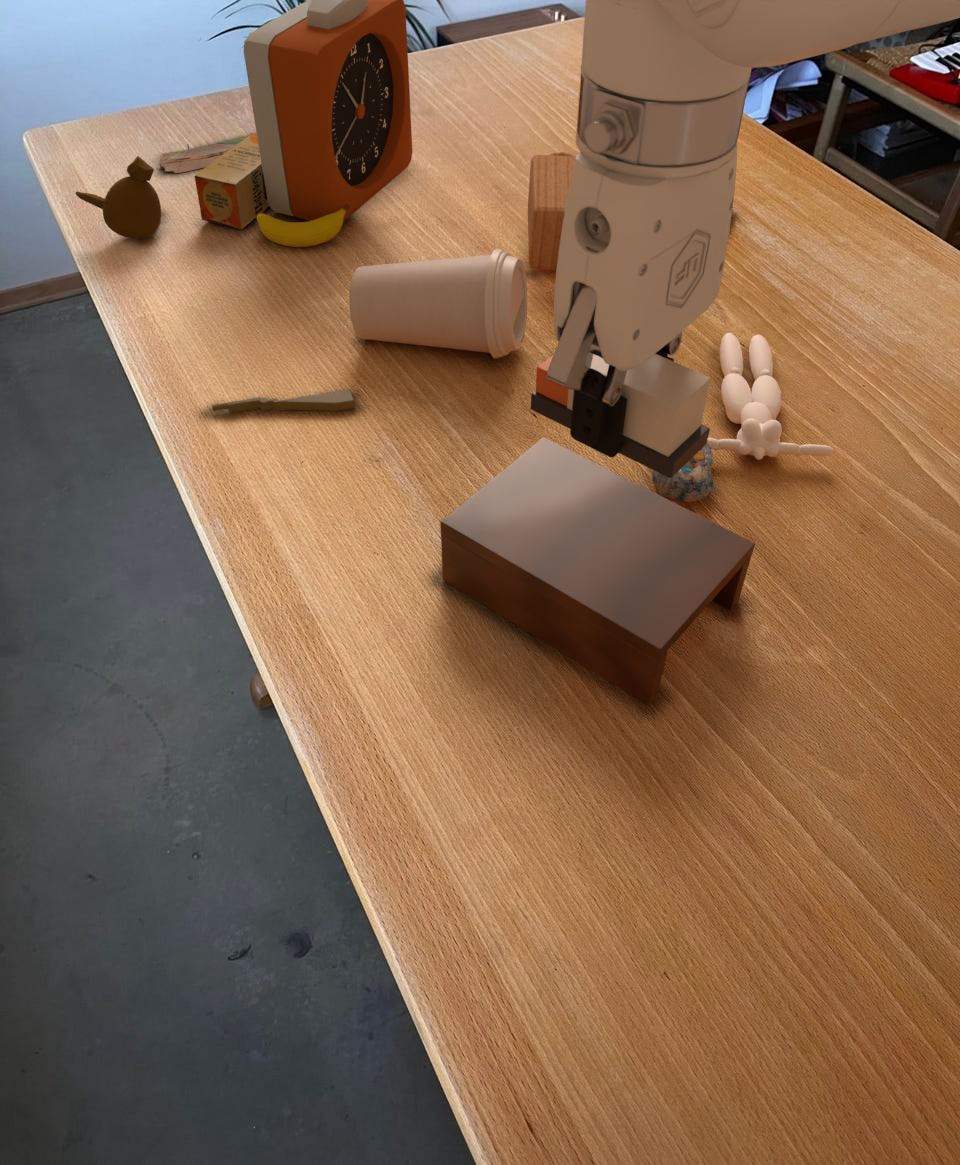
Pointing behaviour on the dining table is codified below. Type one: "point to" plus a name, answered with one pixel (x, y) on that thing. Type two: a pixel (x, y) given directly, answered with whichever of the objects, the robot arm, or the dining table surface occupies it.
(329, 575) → the dining table surface
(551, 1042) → the dining table surface
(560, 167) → the decorative item
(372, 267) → the coffee cup
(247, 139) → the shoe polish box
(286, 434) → the dining table surface
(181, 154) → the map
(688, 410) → the tricolour layered block
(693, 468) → the decorative stone
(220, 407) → the olive tapered flat bar
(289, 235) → the fruit
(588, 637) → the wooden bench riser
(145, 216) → the figurine
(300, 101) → the alarm clock
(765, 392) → the decorative figure
